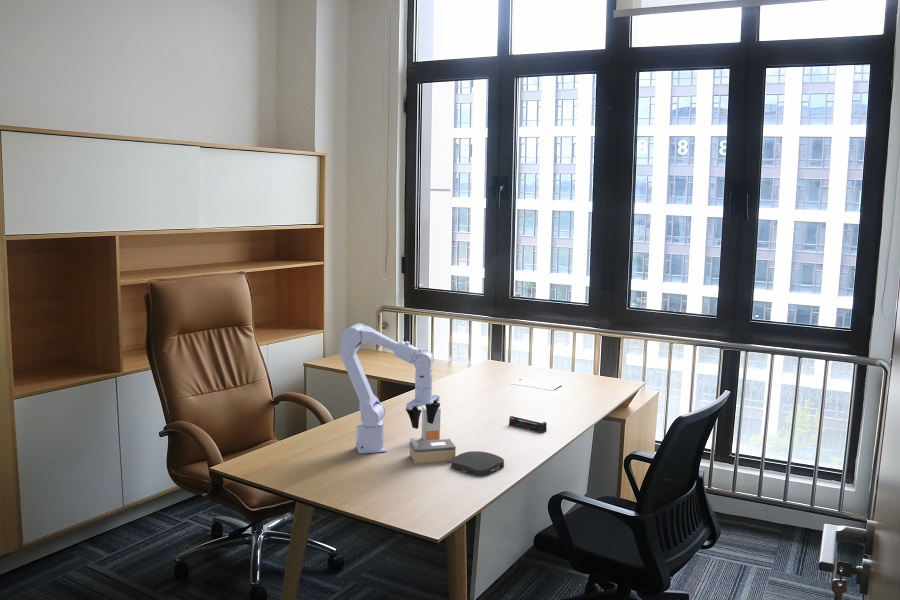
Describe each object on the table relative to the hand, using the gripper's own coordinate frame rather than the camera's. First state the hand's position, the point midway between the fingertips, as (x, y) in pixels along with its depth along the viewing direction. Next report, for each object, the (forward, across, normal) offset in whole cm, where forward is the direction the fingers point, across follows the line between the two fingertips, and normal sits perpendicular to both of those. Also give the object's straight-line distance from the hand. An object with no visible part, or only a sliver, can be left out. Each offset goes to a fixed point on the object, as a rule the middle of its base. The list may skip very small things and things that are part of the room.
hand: (422, 425), depth 264 cm
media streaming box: (+10, +4, -21) cm, 24 cm away
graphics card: (+11, +49, -8) cm, 50 cm away
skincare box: (+10, +13, +8) cm, 18 cm away
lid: (+6, -1, -6) cm, 8 cm away
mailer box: (+10, -1, -6) cm, 11 cm away
